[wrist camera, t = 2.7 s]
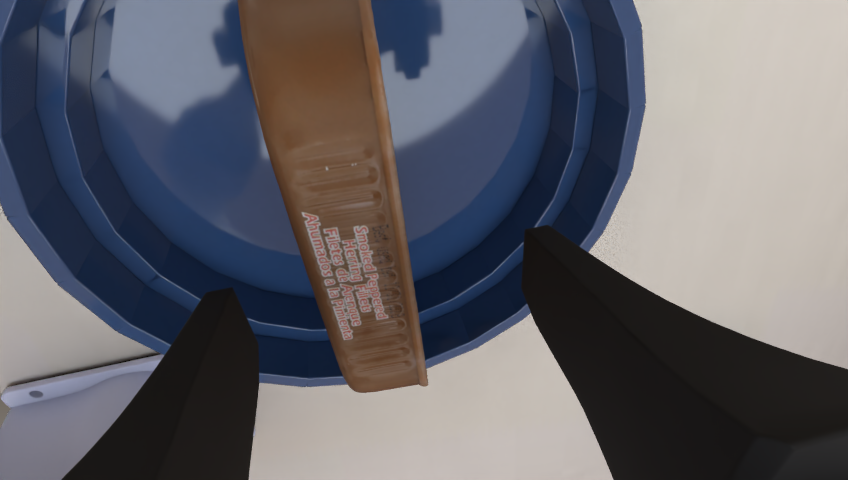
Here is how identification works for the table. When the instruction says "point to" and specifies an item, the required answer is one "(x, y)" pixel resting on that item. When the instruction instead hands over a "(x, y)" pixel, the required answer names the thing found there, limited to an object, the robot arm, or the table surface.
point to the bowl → (253, 173)
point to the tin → (338, 178)
